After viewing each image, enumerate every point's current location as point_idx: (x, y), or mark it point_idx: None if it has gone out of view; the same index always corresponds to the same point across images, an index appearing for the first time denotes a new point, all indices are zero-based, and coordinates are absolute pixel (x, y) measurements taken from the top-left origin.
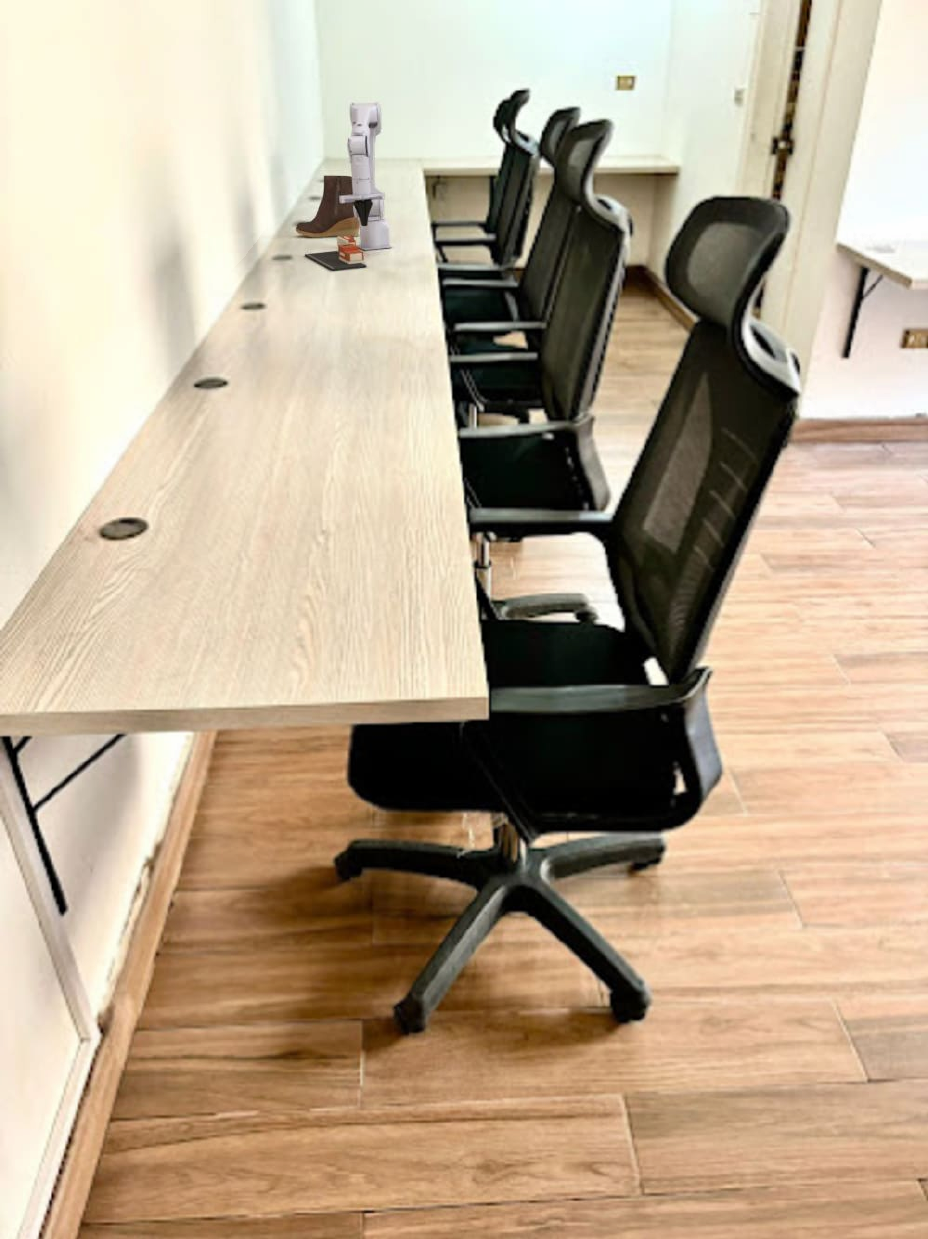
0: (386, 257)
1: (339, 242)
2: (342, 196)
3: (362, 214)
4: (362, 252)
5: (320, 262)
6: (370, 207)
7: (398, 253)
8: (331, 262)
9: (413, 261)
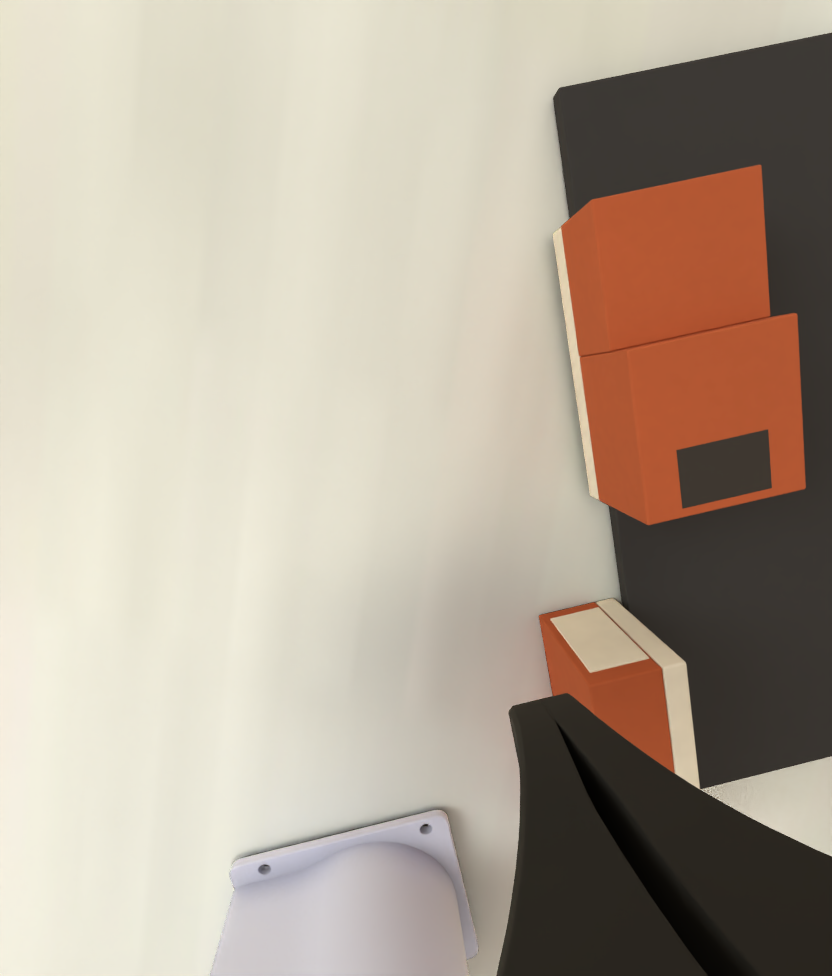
0: (311, 503)
1: None
2: None
3: (681, 798)
4: (598, 198)
5: None
6: (533, 972)
7: (191, 640)
8: (804, 348)
9: (80, 227)
